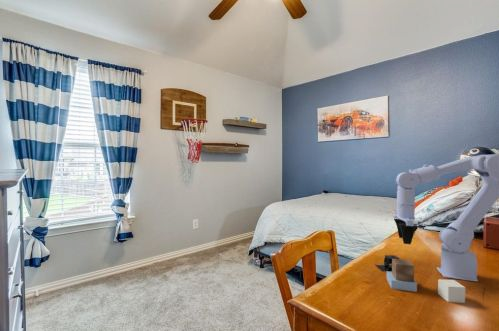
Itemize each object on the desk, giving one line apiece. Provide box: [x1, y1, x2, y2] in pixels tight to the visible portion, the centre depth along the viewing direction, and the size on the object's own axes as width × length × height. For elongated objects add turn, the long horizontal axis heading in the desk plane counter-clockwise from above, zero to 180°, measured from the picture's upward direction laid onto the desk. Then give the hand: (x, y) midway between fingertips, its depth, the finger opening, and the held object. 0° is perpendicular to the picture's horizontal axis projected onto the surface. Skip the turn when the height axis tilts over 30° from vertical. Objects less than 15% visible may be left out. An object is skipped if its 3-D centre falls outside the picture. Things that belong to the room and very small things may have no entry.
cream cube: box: [437, 278, 466, 304], centre depth 75 cm, size 4×4×4 cm
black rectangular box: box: [374, 254, 401, 273], centre depth 96 cm, size 13×8×5 cm, turn 90°
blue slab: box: [386, 271, 418, 293], centre depth 83 cm, size 7×7×3 cm
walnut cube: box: [391, 258, 415, 282], centre depth 82 cm, size 5×5×5 cm
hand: (404, 240), depth 96 cm, fingers open, 7 cm apart
